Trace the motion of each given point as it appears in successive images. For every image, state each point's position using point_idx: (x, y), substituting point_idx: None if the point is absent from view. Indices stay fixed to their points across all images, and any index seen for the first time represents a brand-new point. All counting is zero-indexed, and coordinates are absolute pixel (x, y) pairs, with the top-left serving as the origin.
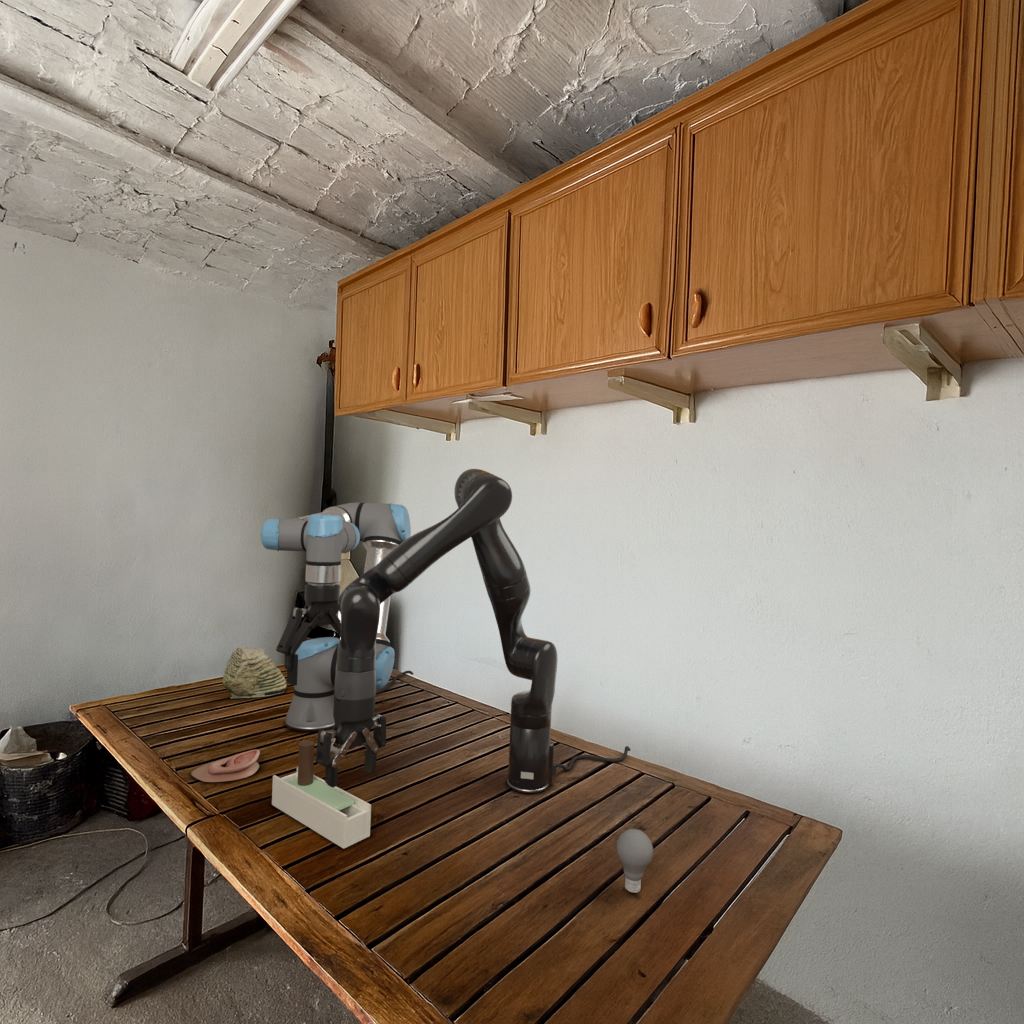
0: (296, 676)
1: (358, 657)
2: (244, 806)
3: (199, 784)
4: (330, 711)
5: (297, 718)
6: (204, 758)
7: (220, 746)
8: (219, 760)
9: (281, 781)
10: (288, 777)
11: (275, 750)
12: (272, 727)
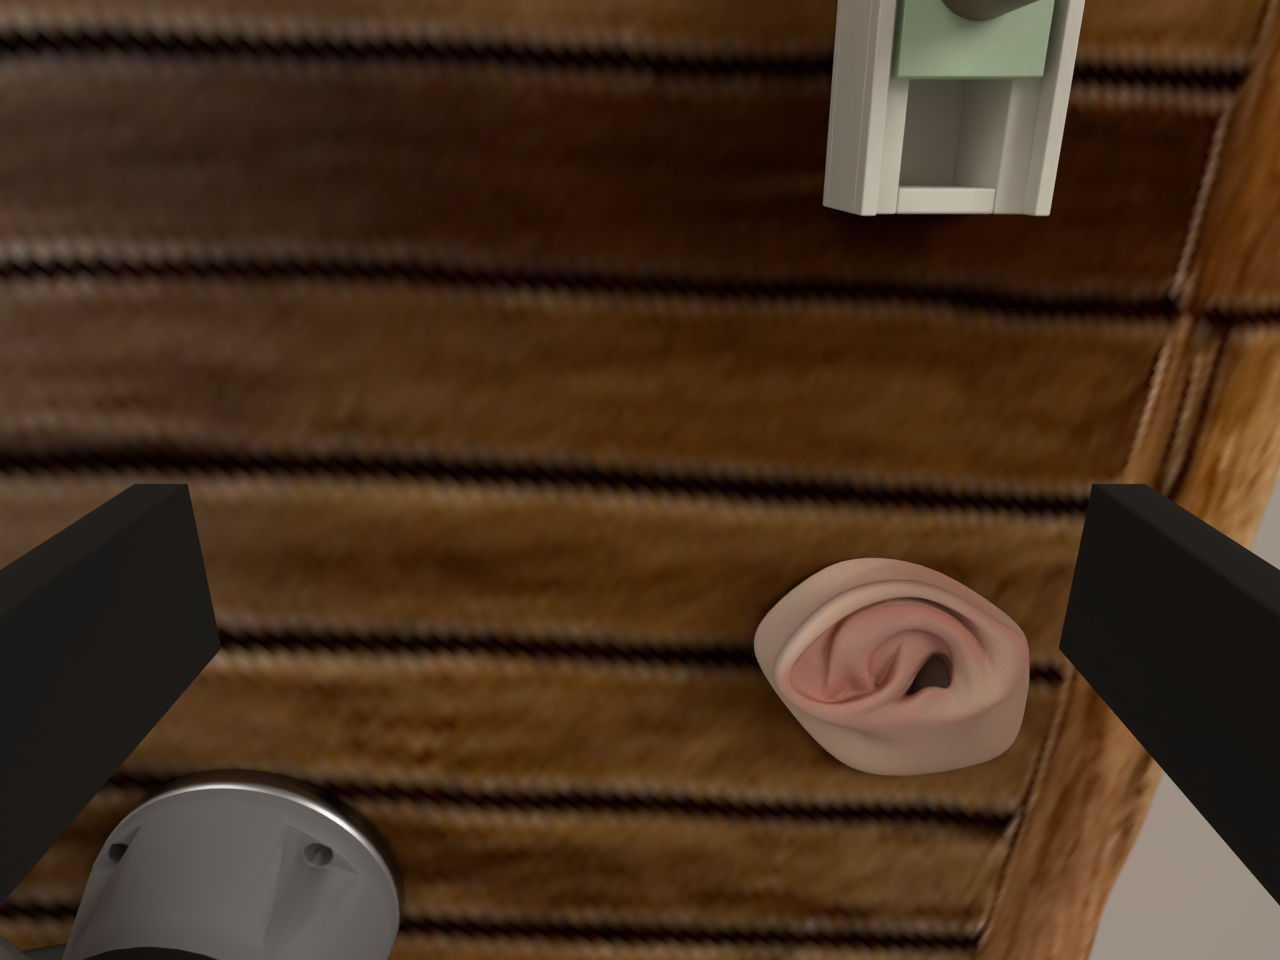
0: (1185, 541)
1: None
2: (1068, 292)
3: (1041, 638)
4: (185, 853)
5: (365, 906)
6: (866, 847)
7: (746, 909)
8: (938, 720)
9: (1064, 104)
10: (941, 189)
11: (591, 730)
12: (455, 949)
